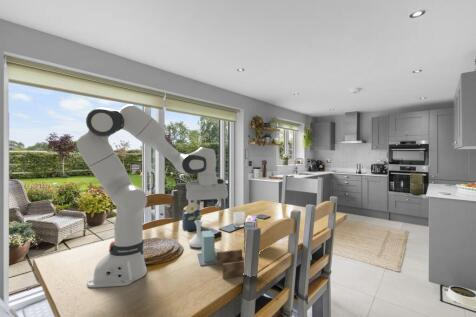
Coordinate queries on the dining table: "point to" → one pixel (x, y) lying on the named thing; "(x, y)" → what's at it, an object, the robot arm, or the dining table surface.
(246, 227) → the candy box
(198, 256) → the slate coaster
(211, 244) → the teal block
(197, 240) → the flower in vase
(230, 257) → the walnut rack
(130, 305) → the dining table surface
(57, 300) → the dining table surface
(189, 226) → the canister
